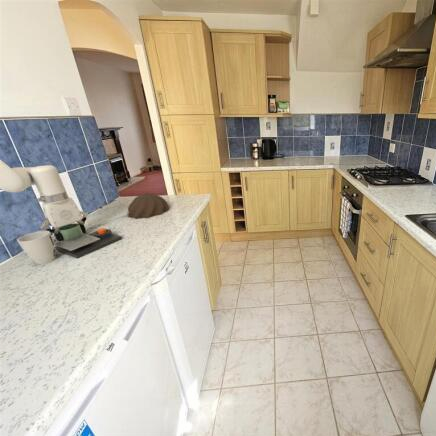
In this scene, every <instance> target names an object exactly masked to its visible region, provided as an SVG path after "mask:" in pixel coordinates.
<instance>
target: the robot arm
mask: <svg viewBox="0 0 436 436" xmlns="http://www.w3.org/2000/svg"><path fill="white" fill-rule="evenodd" d="M32 186H35V187H36V189H37V191H38V193H39V197H38V198H36V200H37V202H38V203H40V202H41V205H42V211H43V215H44V217H45V219H44V221H42V224H41V225H39V227H38V228H39V230H41V231H49V232H50V234H53V236H54V238H55V241H58V242H60V241H63V240H64V239H63V237H62V235H61V233H59V227H62V226H65V225H69V224H73V223H78V224H79V225H80V227H81V229H82V232H83V233H85V234H87V232H86V231H87V229H86V227H85V226H86V225H85V223H86V221H87V219H88V216H89V213H88V212H85V211H81V210H80V209H79V207H78V205H77V203H76V202H75V200H74V199H73V198H72V197H70V196H69V195H68V193H67V191H66V187H65V185H64V183H63V180H62V178H61V175H60V173H59V171H58V169H57V168H56V167H55V166H54V165H48V164H47V165H37V166H33V167H32V166H28V167H27V166H26V167H25V166H17V167H16V166H15V167H10V166H9V165H8V164H6V163H5V162H4V161H3V160H2V159H1V158H0V190H1V191H4V192H7V193H12V194H13V193H14V194H15V193H20V192H23V191H25V190H26V189H27V188H30V187H32ZM47 226H49V227H51V228H48V227H47Z"/></svg>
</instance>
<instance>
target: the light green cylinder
mask: <svg viewBox="0 0 436 436" xmlns="http://www.w3.org/2000/svg"><path fill="white" fill-rule="evenodd" d="M59 233H61V235H62V237H63V239H64V240H66V239H69V238H71V237H74V236H77V235H80V234H82V233H83V232H82V229H81V227H80V225H79V224H78V223H77V222H75V223H72V224H69V225H65V226H62V227H59Z"/></svg>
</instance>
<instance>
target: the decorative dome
mask: <svg viewBox="0 0 436 436" xmlns="http://www.w3.org/2000/svg"><path fill="white" fill-rule="evenodd" d="M169 210H170V207H169V204H168V202H167V200H166V199H164V198H163V197H162V196H160V195H158V194H155V193H151V192H150V193H149V192H147V193H142V194H140V195H137V196H136V197H134V198H133V199H132V201H131V202H130V204H129V205H128V206H127V211H128V218H133V219H134V220H138V219H150V218H152V217H156V216H162V215H163V214H164V213H166V212H168V211H169Z"/></svg>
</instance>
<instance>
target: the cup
mask: <svg viewBox="0 0 436 436" xmlns="http://www.w3.org/2000/svg"><path fill="white" fill-rule="evenodd" d="M51 234H52V233H51V232H49V231H45V230H39V231H34V232H29V233H27V234H25V235H22V236H20V237H18V238H17V240H16V241H17V243H18V244H19V246H20V247H21V249H22V250H23V252H24V253H25V254H26V255H27V256H28V257H29V258H30V260H32V261H33V262H34V263H36V264H37V265H43V264H44V265H45V264H48V263H50V262H52V261H54V260H55V259H56V258H57V254H56V253H57V250H56V248H55V246H56V245H54V244H55V242H54V239H53V236H52V235H51Z"/></svg>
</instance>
